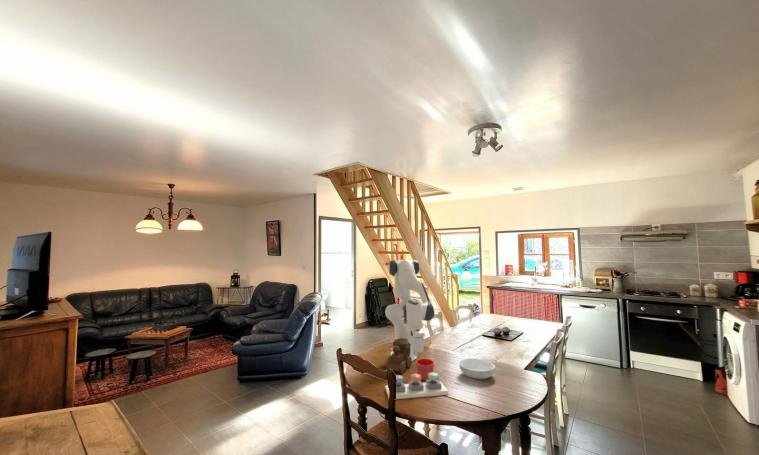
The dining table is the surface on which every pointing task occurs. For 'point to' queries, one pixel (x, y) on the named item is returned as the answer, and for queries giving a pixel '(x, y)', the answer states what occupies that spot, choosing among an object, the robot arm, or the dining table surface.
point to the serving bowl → (477, 368)
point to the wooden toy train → (400, 356)
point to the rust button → (415, 378)
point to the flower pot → (424, 368)
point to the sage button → (433, 376)
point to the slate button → (399, 379)
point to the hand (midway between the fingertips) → (415, 355)
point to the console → (419, 389)
